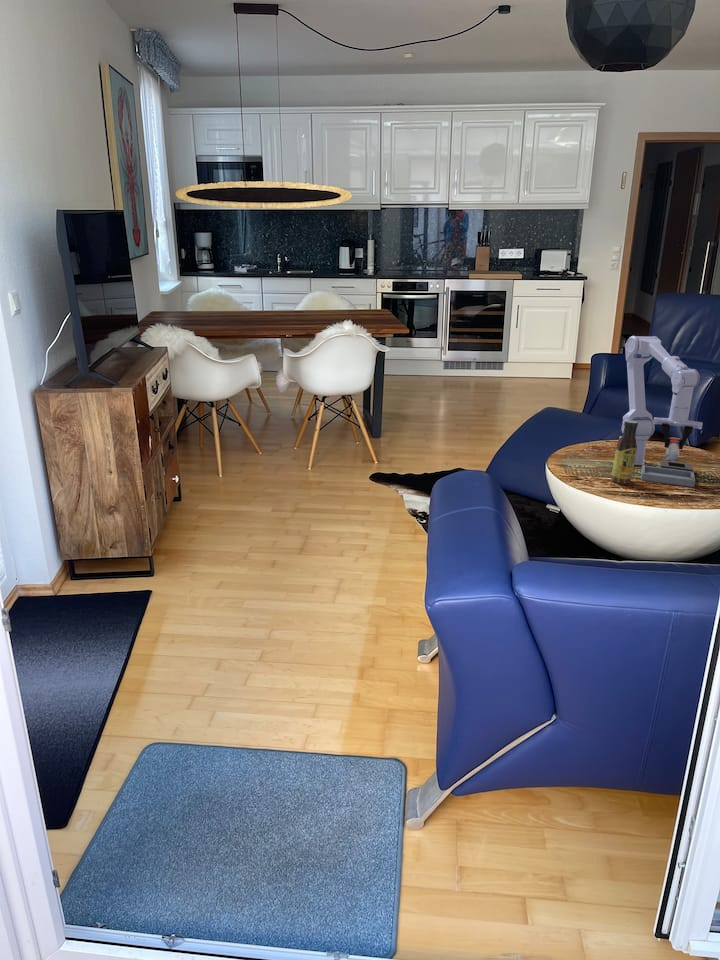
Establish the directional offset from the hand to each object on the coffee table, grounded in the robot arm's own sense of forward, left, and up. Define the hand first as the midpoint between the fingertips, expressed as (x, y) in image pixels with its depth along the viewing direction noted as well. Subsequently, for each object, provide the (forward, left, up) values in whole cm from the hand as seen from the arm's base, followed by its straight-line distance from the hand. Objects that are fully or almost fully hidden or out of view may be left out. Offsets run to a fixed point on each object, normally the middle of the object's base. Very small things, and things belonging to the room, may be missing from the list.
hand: (673, 447), depth 236 cm
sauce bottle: (-14, -12, -11) cm, 22 cm away
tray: (0, -1, -10) cm, 10 cm away
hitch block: (+3, +10, -10) cm, 15 cm away
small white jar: (0, 0, -4) cm, 4 cm away
